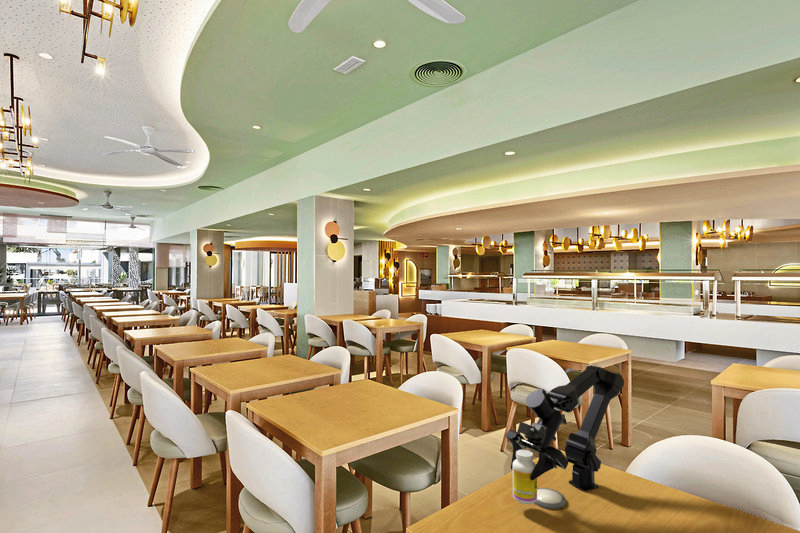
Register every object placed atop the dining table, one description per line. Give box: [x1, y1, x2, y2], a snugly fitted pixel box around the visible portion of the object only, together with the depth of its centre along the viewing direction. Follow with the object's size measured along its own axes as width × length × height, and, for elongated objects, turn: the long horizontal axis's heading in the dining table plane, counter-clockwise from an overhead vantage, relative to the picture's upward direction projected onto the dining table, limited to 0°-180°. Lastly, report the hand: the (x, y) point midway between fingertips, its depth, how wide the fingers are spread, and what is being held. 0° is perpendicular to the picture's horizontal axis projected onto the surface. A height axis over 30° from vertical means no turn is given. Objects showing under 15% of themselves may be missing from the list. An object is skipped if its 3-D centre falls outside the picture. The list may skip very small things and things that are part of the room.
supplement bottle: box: [512, 449, 538, 505], centre depth 117 cm, size 7×7×13 cm
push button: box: [533, 487, 567, 510], centre depth 122 cm, size 10×10×1 cm
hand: (521, 474), depth 116 cm, fingers closed on supplement bottle, 7 cm apart
